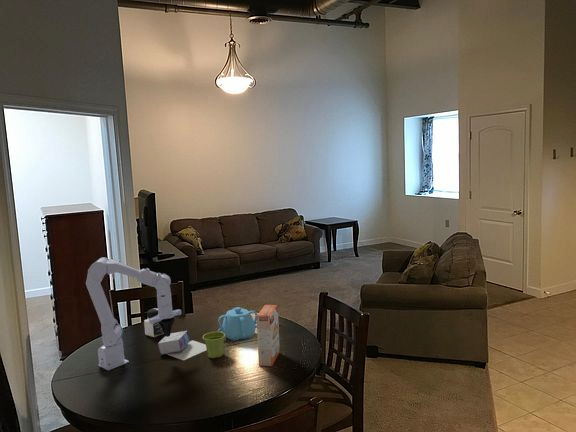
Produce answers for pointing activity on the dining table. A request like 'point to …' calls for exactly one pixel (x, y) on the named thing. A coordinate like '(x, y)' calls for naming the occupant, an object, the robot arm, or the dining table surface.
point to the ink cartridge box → (174, 342)
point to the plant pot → (214, 343)
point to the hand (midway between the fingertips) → (167, 335)
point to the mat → (189, 350)
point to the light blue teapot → (238, 324)
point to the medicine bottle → (152, 329)
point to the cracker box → (268, 335)
